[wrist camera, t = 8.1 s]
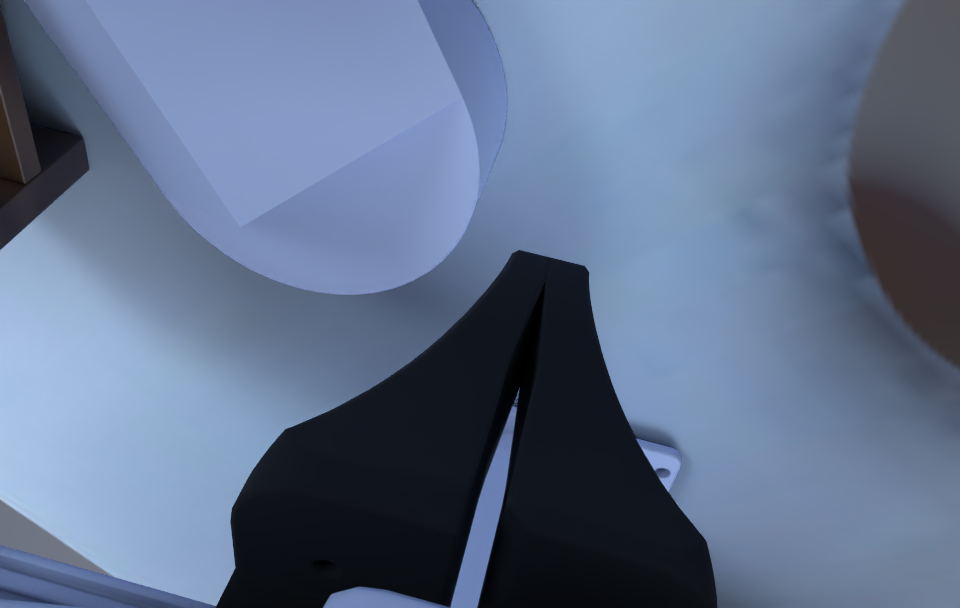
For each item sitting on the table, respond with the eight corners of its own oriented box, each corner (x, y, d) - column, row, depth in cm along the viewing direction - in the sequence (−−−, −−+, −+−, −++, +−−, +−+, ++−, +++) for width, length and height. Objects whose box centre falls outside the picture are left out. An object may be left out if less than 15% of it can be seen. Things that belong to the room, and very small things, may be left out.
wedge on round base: (23, -167, 20) (297, 253, 27) (-204, -90, 15) (201, 402, 22) (325, -356, 17) (556, 185, 23) (155, -337, 12) (510, 345, 18)
